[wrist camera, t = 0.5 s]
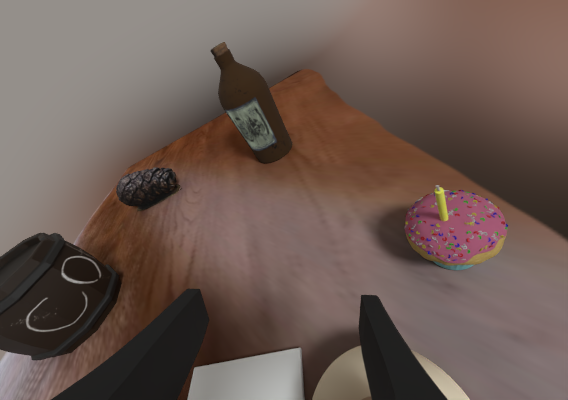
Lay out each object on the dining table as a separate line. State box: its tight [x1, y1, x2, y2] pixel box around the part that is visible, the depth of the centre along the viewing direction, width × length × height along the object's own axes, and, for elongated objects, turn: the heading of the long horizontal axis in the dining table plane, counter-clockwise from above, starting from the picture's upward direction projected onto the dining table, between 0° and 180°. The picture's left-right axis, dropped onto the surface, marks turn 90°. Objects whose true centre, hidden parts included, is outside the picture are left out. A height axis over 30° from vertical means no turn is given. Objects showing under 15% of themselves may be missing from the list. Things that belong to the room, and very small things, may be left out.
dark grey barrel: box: [0, 233, 121, 360], centre depth 45 cm, size 18×18×16 cm
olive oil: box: [211, 42, 292, 163], centre depth 55 cm, size 11×11×25 cm
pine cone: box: [116, 167, 182, 211], centre depth 71 cm, size 10×18×10 cm, turn 103°
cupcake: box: [404, 185, 508, 270], centre depth 24 cm, size 9×8×12 cm
